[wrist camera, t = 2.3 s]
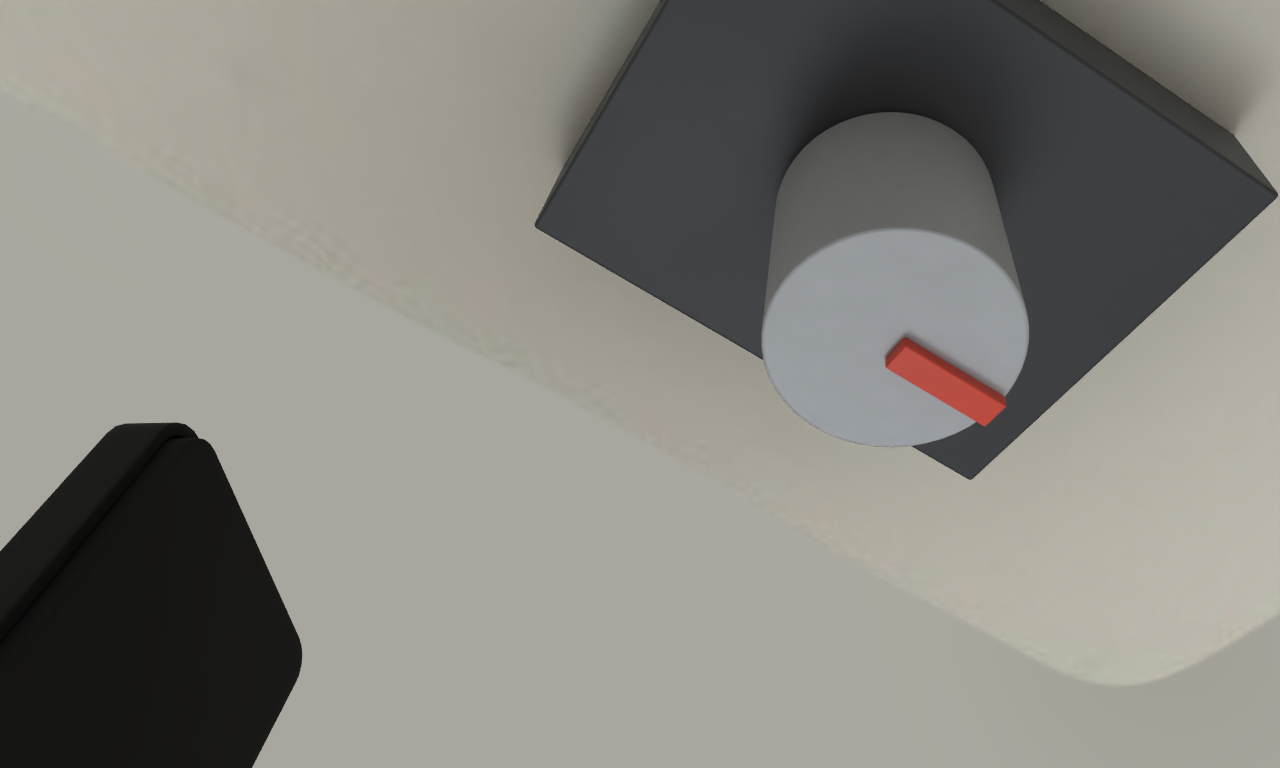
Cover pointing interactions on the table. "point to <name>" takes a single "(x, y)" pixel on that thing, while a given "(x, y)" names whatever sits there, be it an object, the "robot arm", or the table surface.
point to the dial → (892, 285)
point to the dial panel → (926, 86)
